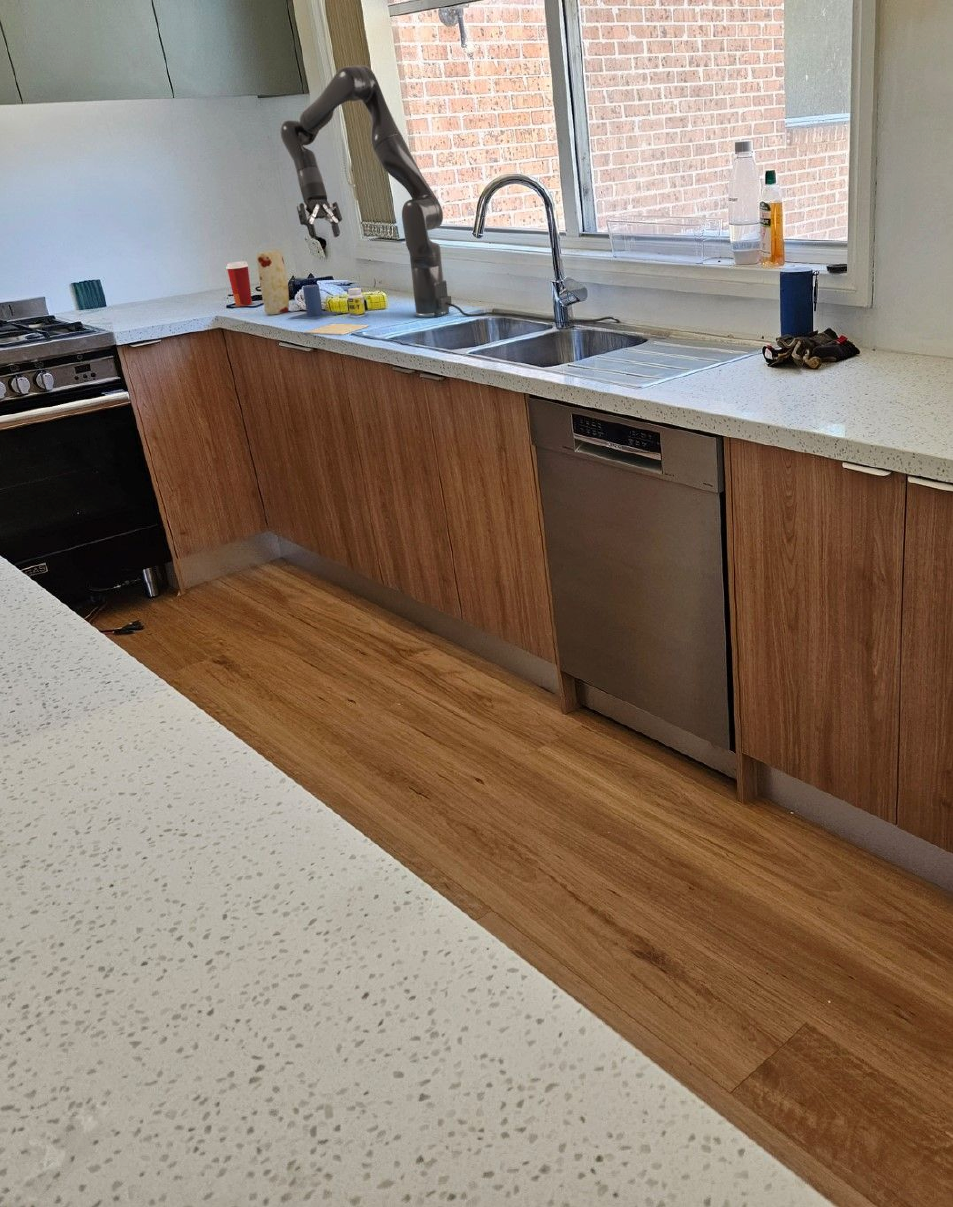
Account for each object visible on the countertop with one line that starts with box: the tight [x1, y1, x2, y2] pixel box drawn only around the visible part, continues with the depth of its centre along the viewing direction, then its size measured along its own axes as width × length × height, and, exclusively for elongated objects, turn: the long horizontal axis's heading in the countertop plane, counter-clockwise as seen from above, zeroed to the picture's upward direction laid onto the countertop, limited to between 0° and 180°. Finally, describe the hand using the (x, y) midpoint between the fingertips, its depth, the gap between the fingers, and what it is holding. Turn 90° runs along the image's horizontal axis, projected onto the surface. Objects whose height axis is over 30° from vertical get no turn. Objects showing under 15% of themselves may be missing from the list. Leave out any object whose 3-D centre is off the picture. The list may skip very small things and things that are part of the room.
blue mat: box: [288, 310, 342, 321], centre depth 340 cm, size 12×12×1 cm
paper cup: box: [225, 260, 253, 307], centre depth 370 cm, size 8×8×14 cm
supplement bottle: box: [347, 287, 366, 318], centre depth 331 cm, size 5×5×8 cm
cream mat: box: [305, 323, 369, 336], centre depth 316 cm, size 14×12×1 cm
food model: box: [256, 249, 290, 316], centre depth 345 cm, size 10×7×20 cm
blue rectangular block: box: [302, 284, 324, 317], centre depth 338 cm, size 5×5×9 cm
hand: (325, 236), depth 336 cm, fingers open, 8 cm apart
